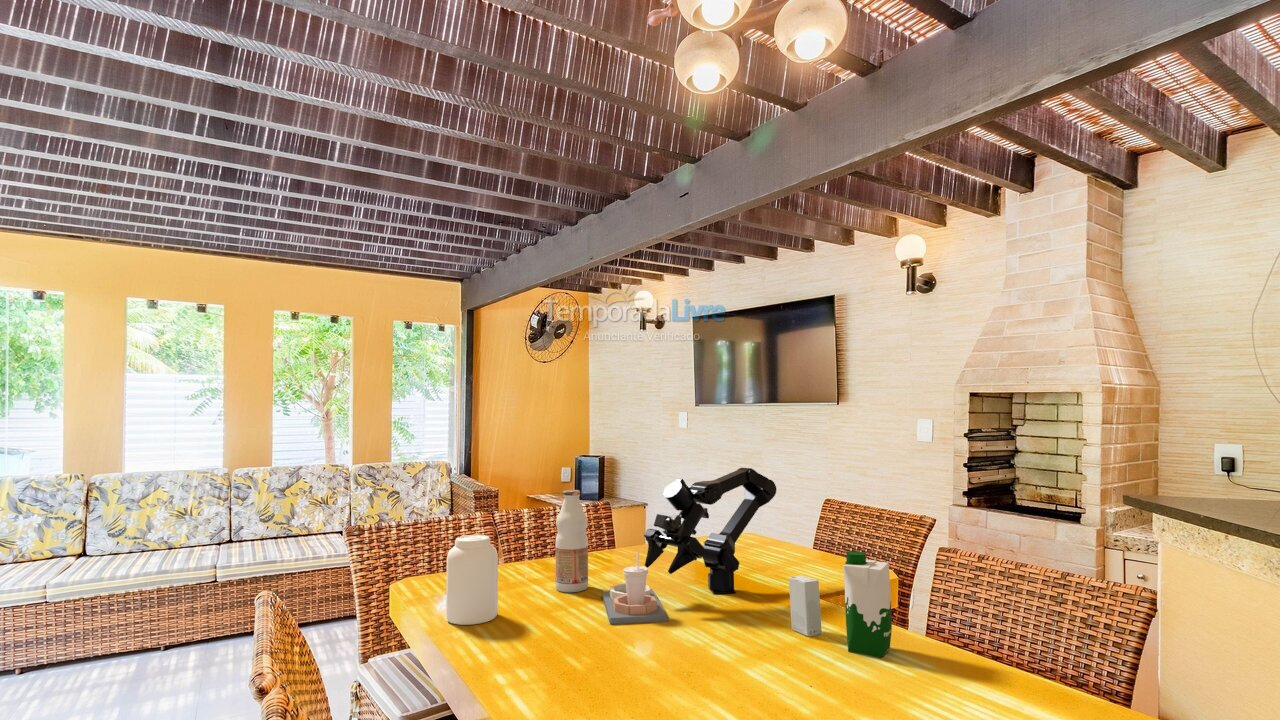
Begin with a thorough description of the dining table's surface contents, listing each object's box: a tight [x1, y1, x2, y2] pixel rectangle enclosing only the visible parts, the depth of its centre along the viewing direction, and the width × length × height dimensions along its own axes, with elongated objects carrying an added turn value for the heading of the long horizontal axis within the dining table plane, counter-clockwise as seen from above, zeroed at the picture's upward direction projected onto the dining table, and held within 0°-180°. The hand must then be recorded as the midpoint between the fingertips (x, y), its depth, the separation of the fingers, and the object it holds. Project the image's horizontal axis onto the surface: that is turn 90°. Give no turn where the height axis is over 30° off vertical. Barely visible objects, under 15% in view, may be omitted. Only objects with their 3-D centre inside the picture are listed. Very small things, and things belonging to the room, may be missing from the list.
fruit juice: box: [555, 489, 589, 593], centre depth 193 cm, size 9×9×28 cm
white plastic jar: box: [445, 534, 499, 626], centre depth 167 cm, size 12×12×20 cm
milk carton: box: [842, 550, 893, 659], centre depth 142 cm, size 9×9×20 cm
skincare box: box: [788, 574, 823, 637], centre depth 153 cm, size 6×4×12 cm
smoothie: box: [622, 551, 649, 605], centre depth 168 cm, size 6×6×14 cm
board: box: [601, 582, 668, 625], centre depth 173 cm, size 14×24×4 cm, turn 8°
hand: (657, 569), depth 173 cm, fingers open, 9 cm apart
